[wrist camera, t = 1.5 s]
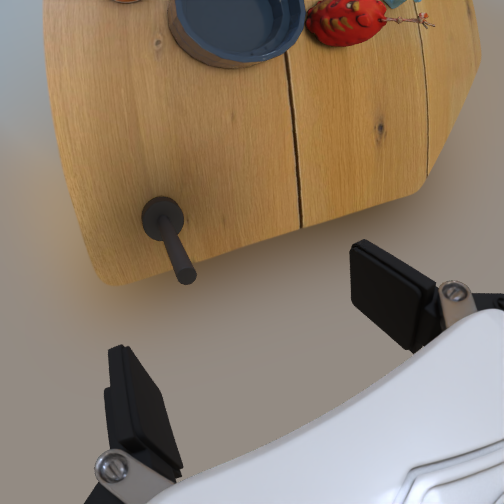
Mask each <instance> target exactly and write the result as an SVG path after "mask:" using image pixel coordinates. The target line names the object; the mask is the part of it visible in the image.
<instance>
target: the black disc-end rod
mask: <svg viewBox="0 0 504 504" xmlns="http://www.w3.org/2000/svg"><path fill="white" fill-rule="evenodd" d="M141 217H142V224H143V228H144V230H145V232H146V234H147V235H148V236H149V237H150V238H152V239H154V240H157V241H163V242H164V244H165V247H166V250H167V253H168V255H169V258H170V261H171V263H172V266H173V269H174V271H175V274H176V277H177V279H178V281H179V282H180V283H181V284H184V285H188V284H191V283H193V282H194V281H195V279H196V276H197V273H196V271H195V269H194V267H193V265H192V263H191V261H190V259H189V257H188V255H187V253H186V251H185V249H184V247H183V245H182V243H181V241H180V239H179V237H178V234H179V232H180V231H181V229H182V227H183V224H184V216H183V213H182V211H181V209H180V207H179V206H178V204H177V203H176V202H175V201H174V200H172V199H171V198H168V197H156V198H154V199H152V200H150V201H149V202H148V203H147V204H146V205H145V207H144V208H143V211H142V216H141Z"/></svg>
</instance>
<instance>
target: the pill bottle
mask: <svg viewBox="0 0 504 504" xmlns="http://www.w3.org/2000/svg"><path fill="white" fill-rule="evenodd" d="M114 1H117V2H122V3H130V2H136V1H139V0H114Z"/></svg>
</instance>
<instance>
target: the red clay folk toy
mask: <svg viewBox="0 0 504 504" xmlns="http://www.w3.org/2000/svg"><path fill="white" fill-rule="evenodd" d="M385 12H386V7H385V5H384V4H383V3H382V2H381V1H376V0H323V1H319V2H317V4H316V6H315V7H313V8H311V9H309V10H308V12H307V13H308V16H307V20H306V21H305V26H306V28H307V30H309V31H310V32H311V33H315V37H316V38H317V39H318V40H319V41H320V42H322V43H324V44H326V45H329V46H342V47H346V46H352V45H355V44H359V43H362V42H364V41H367V40H368V39H370V38H372V37H373V36H374V35H375V34H376V33H377V32H379V31H380V30H381V28H382V27H383V26H385V25H386V23H387V21H395V22H397V23H398V24H399V23H401V22H403V21H407V22H416V23H421V24H423V25H424V27H425V28H426V29H427V28H428V27H427V26H426V25H425V24H427V25H430V26H433V27H435V25H434V24H430V23H428V22H427V21H426V20H425V19H423V18H428V14H427V13H420V14H419V16H418V19H402V17H398V19H394V18H387V17H384V14H385ZM424 23H425V24H424Z"/></svg>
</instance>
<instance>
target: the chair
mask: <svg viewBox="0 0 504 504" xmlns="http://www.w3.org/2000/svg"><path fill="white" fill-rule="evenodd" d="M384 1H385V2H386V3H387V4H388V5H389V6H390V7H391V8H392V9H394V8H396V7H398V6H399V5H400V4H402V3H403V2H405V1H406V0H384ZM414 1H415V2H420V1H421V0H414Z"/></svg>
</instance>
